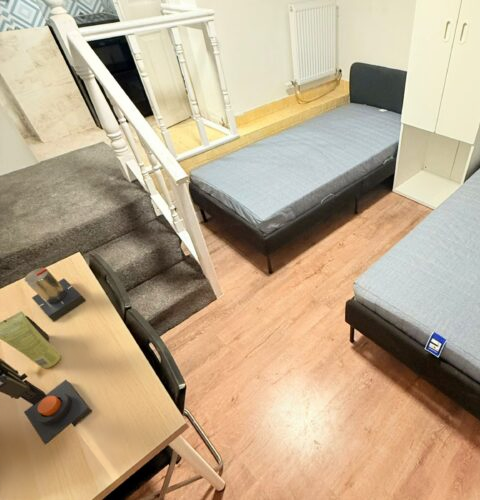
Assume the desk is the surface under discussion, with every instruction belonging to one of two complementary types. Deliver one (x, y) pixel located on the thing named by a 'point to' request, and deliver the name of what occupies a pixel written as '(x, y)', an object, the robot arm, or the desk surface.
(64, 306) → the dial panel
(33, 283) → the dial
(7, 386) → the robot arm
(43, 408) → the button
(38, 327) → the battery charger
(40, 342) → the tube
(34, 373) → the desk surface
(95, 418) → the desk surface
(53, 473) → the desk surface
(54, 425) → the dark grey base plate
